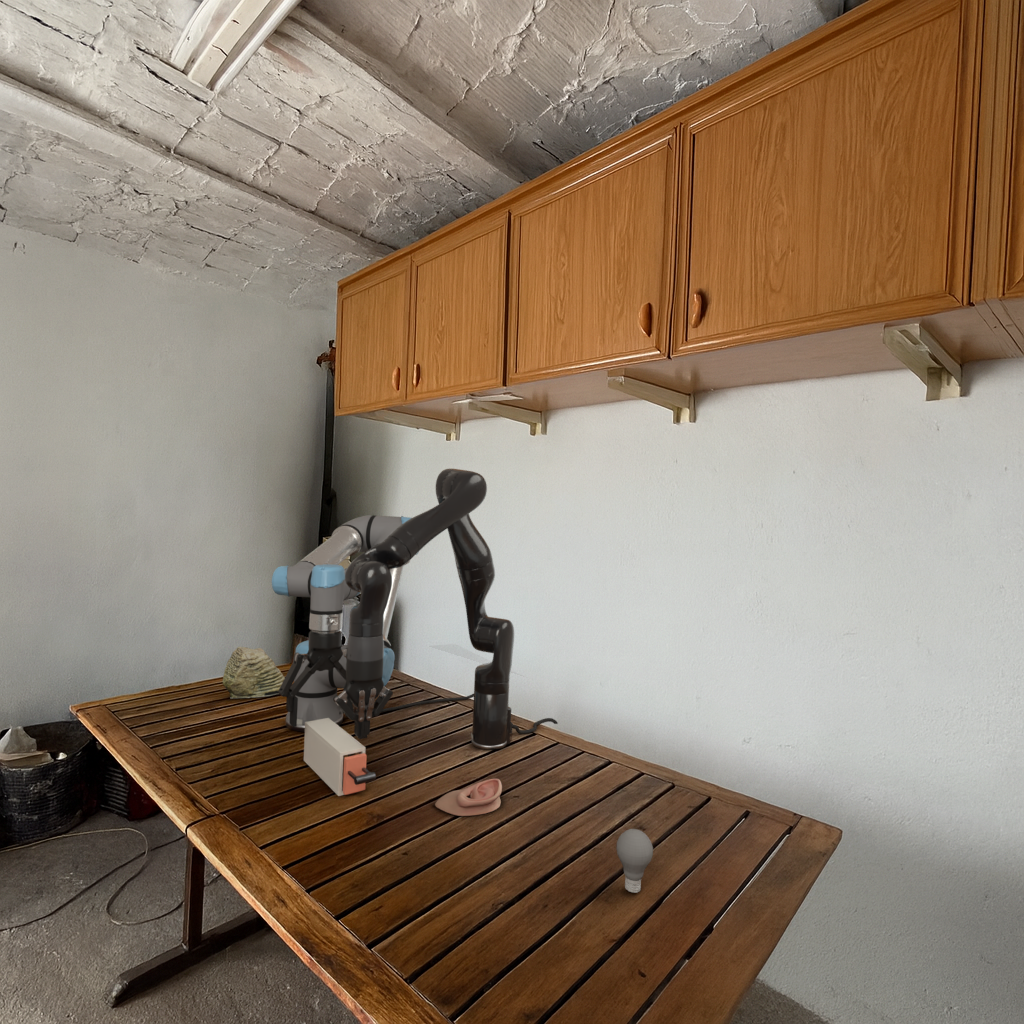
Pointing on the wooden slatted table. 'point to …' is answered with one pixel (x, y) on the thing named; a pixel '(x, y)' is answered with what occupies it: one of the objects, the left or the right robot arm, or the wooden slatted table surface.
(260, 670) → the fossil
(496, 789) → the anatomical model
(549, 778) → the wooden slatted table surface
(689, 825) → the wooden slatted table surface
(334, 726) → the cabinet
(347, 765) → the drawer
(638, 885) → the light bulb
